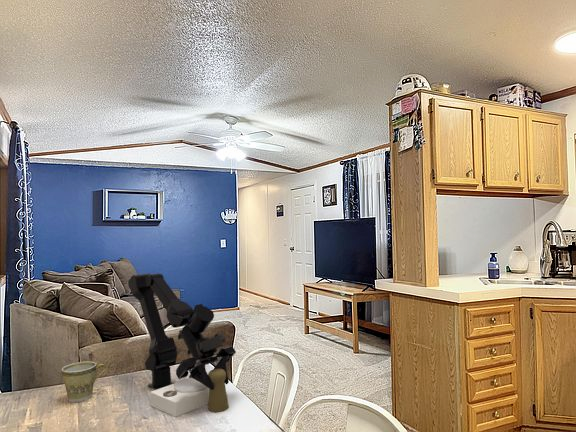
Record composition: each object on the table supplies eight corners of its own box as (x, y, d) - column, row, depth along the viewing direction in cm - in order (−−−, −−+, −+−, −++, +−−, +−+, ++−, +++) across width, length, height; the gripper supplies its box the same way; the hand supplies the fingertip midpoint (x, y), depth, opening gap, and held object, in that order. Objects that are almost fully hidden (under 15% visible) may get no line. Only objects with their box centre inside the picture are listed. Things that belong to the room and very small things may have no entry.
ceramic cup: (67, 407, 131) (66, 374, 132) (58, 398, 139) (57, 366, 139) (111, 395, 140) (110, 363, 140) (101, 387, 148) (100, 357, 148)
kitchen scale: (150, 405, 131) (150, 389, 131) (194, 388, 143) (194, 374, 143) (175, 417, 122) (175, 399, 122) (220, 398, 134) (219, 382, 134)
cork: (224, 413, 123) (223, 373, 124) (204, 412, 125) (203, 373, 125) (231, 404, 129) (230, 366, 130) (212, 403, 131) (210, 366, 131)
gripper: (180, 332, 123) (206, 380, 115) (230, 319, 137) (256, 361, 129) (165, 355, 128) (189, 402, 121) (215, 341, 142) (239, 382, 135)
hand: (220, 386), depth 126 cm, fingers closed on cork, 5 cm apart
